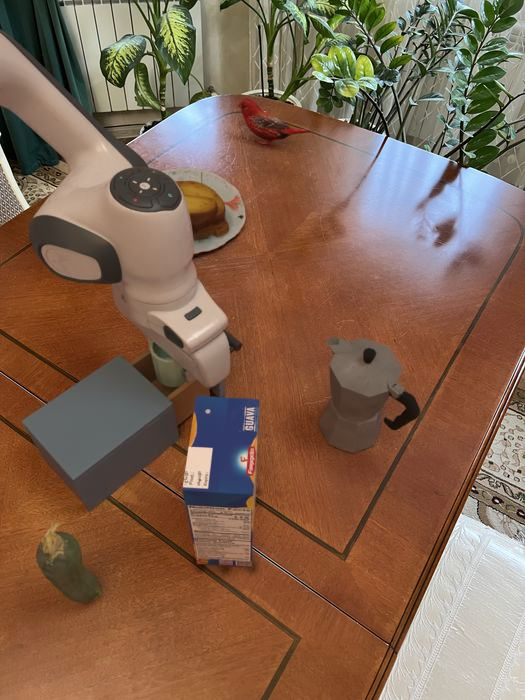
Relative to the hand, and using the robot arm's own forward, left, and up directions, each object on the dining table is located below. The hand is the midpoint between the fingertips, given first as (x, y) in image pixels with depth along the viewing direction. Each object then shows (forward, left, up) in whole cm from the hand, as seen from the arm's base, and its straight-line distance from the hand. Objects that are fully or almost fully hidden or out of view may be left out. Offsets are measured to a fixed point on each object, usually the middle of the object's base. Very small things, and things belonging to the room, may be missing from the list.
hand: (173, 362), depth 81 cm
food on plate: (-32, +28, -9) cm, 44 cm away
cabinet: (0, -13, -8) cm, 15 cm away
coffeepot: (+23, +14, -9) cm, 28 cm away
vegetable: (+14, -27, -9) cm, 31 cm away
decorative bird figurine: (-37, +59, -9) cm, 70 cm away
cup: (0, 0, -2) cm, 2 cm away
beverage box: (+20, -9, -9) cm, 23 cm away
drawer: (0, 0, -8) cm, 8 cm away
